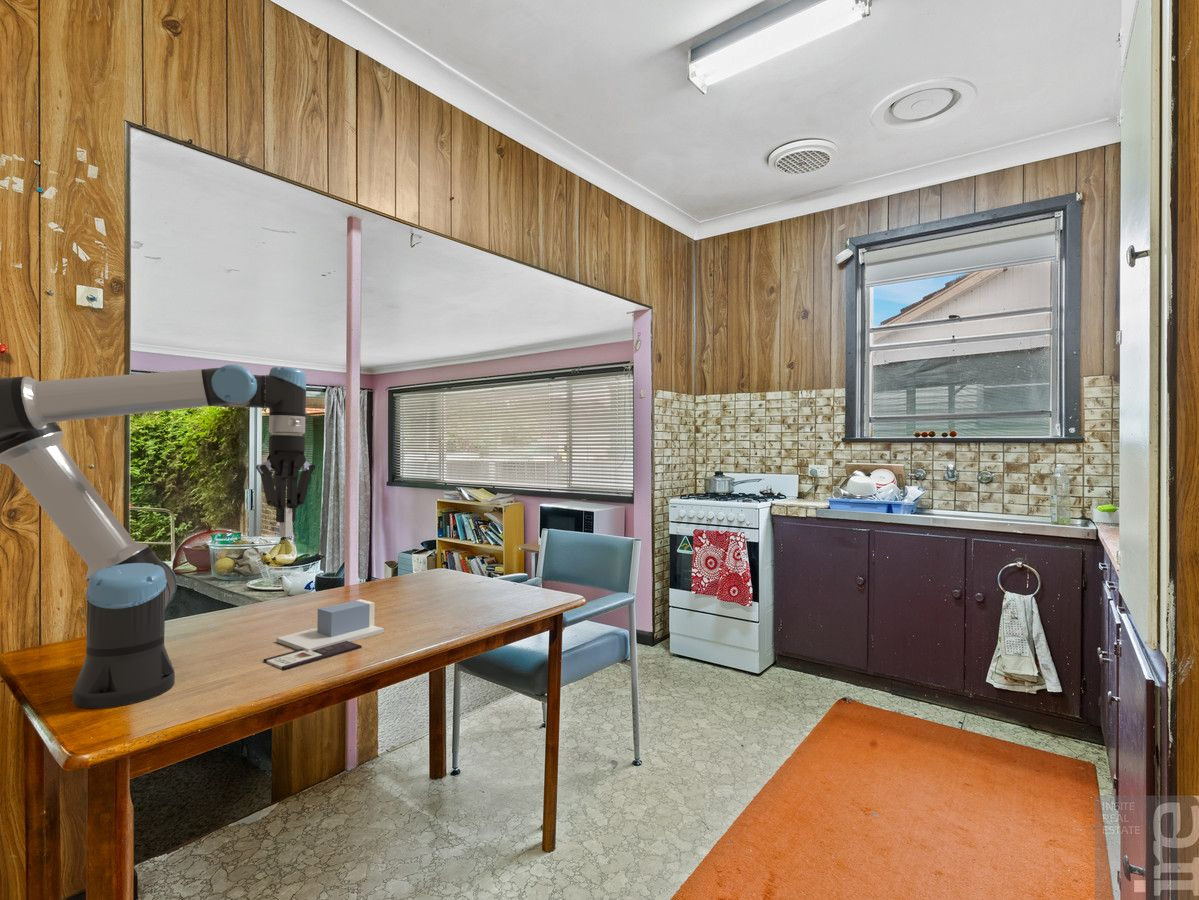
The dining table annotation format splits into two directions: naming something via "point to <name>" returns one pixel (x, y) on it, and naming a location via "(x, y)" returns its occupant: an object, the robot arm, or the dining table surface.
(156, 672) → the robot arm
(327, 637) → the board
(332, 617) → the block
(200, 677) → the dining table surface
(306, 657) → the chocolate bar
